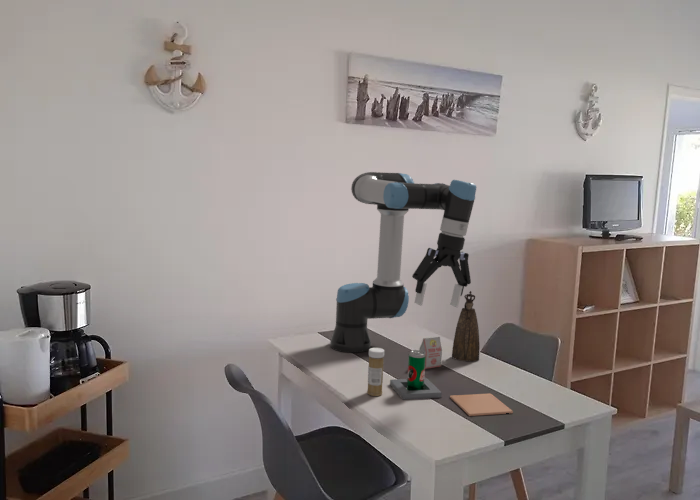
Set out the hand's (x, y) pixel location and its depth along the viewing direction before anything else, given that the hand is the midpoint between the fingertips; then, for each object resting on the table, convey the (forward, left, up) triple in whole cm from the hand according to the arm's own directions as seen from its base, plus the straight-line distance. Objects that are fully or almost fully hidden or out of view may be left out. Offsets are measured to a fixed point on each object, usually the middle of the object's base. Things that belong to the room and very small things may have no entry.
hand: (436, 305), depth 168 cm
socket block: (-2, -4, -27) cm, 27 cm away
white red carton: (-23, +9, -27) cm, 37 cm away
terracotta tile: (+11, +11, -27) cm, 31 cm away
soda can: (-2, -4, -27) cm, 27 cm away
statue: (-29, +25, -27) cm, 47 cm away
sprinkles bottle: (-1, -17, -27) cm, 32 cm away
